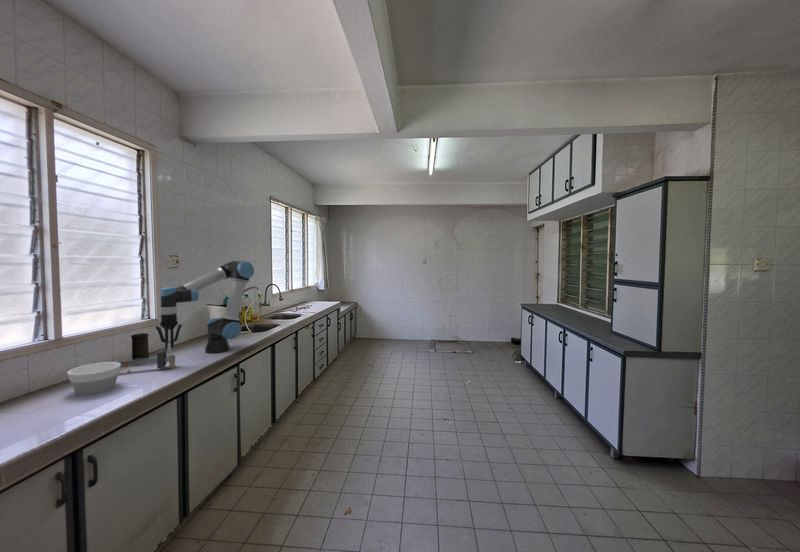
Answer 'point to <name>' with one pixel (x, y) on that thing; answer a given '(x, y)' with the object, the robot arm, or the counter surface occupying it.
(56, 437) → the counter surface
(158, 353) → the collar
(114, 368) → the bowl
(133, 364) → the bar
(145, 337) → the container
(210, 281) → the robot arm
